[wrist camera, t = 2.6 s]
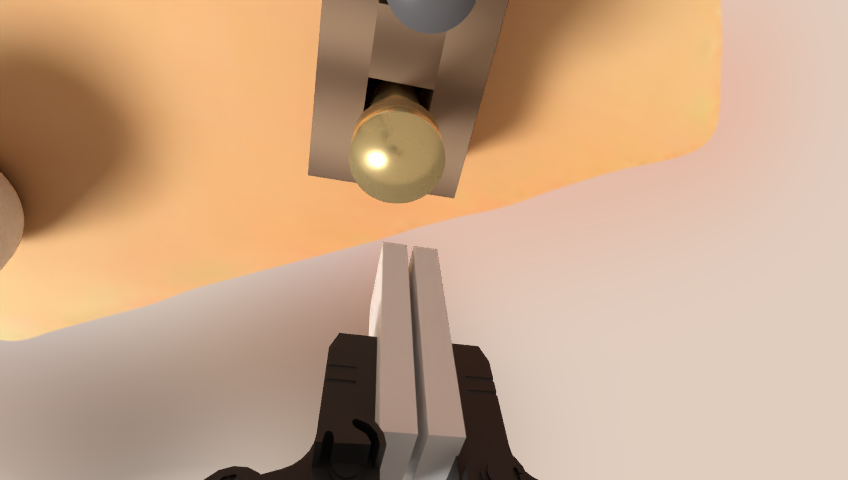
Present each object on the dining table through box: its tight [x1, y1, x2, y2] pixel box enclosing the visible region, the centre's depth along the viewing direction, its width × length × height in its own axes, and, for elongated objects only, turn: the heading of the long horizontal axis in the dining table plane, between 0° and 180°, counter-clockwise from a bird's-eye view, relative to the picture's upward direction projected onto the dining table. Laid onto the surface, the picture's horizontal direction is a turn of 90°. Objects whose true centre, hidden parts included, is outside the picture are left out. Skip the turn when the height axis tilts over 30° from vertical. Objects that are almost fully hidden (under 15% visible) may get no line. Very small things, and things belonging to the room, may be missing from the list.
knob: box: [349, 81, 446, 203], centre depth 27 cm, size 5×5×9 cm
